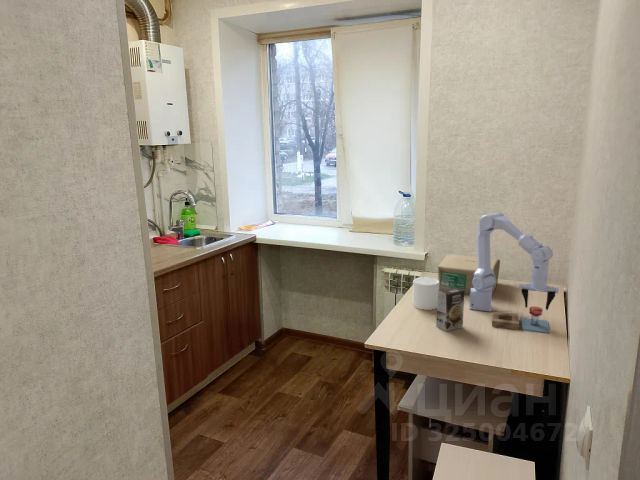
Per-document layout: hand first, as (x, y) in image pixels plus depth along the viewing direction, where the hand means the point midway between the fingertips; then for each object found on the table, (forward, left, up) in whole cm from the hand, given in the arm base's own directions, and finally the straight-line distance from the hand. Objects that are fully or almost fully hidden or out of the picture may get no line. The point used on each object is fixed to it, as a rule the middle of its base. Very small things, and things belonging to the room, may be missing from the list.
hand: (536, 307), depth 189 cm
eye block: (-11, -1, -8) cm, 14 cm away
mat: (0, 0, -8) cm, 8 cm away
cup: (-46, +9, -8) cm, 47 cm away
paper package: (-29, +41, -8) cm, 51 cm away
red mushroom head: (0, 0, -7) cm, 7 cm away
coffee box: (-33, -12, -8) cm, 36 cm away
